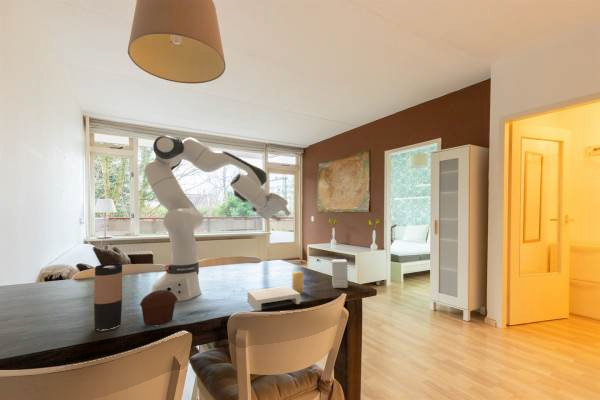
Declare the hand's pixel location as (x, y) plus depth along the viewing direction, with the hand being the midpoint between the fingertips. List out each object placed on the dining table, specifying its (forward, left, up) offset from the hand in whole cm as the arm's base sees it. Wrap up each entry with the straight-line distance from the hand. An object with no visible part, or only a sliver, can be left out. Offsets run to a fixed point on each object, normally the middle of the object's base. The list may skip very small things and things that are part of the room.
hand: (284, 217), depth 136 cm
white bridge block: (-12, -15, -34) cm, 39 cm away
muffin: (-54, -15, -34) cm, 66 cm away
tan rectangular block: (+3, -7, -34) cm, 35 cm away
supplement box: (+26, -7, -34) cm, 44 cm away
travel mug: (-69, -13, -34) cm, 78 cm away
